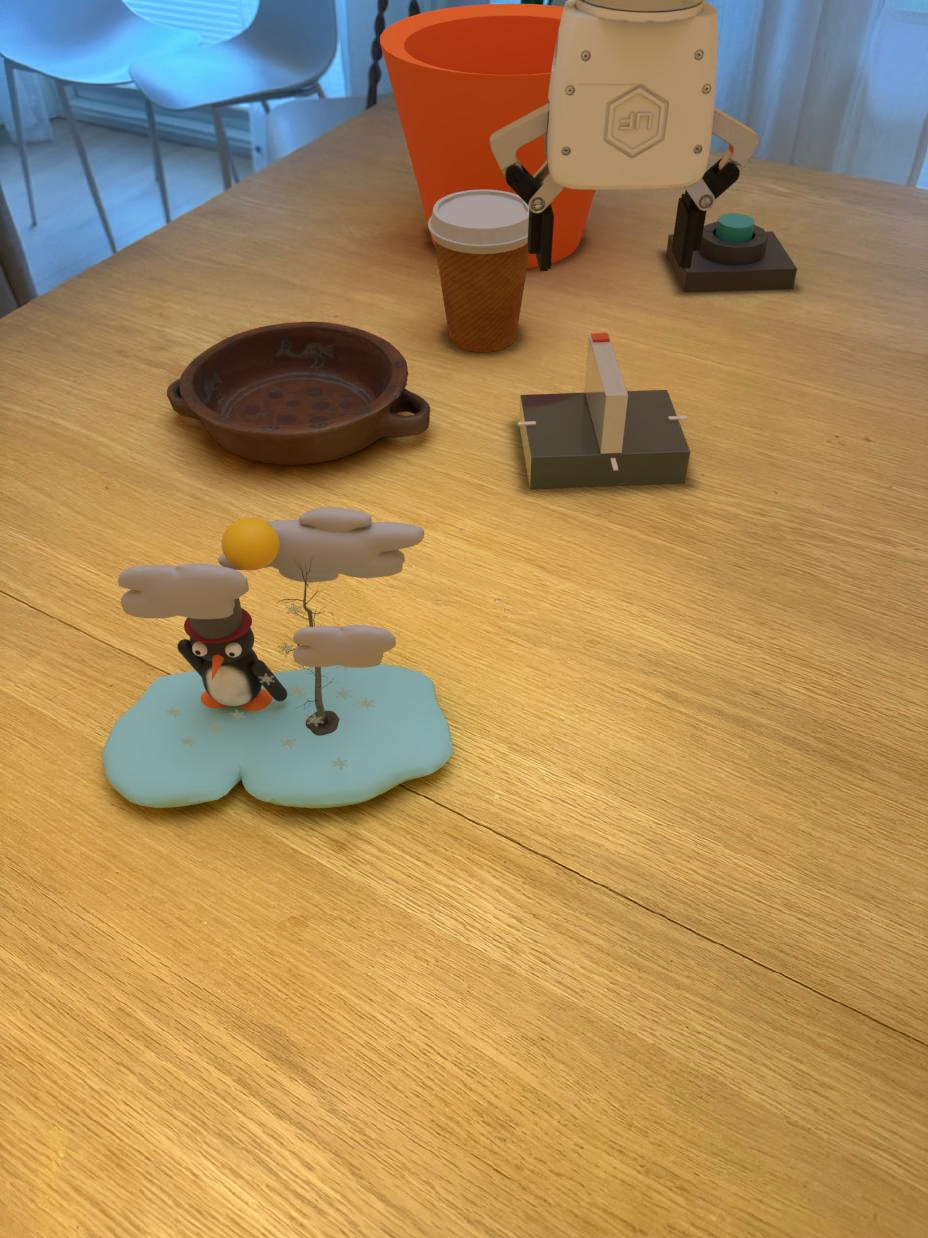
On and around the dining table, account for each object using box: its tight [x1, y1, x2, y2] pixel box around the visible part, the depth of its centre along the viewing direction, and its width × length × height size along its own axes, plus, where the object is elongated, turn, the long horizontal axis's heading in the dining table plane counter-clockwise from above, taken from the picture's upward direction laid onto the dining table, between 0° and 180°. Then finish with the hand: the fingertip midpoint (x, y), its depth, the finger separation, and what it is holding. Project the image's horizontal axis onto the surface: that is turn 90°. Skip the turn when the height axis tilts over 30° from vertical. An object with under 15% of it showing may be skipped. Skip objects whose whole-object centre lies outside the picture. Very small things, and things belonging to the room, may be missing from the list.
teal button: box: [715, 212, 756, 242], centre depth 105 cm, size 4×4×2 cm
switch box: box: [665, 221, 798, 293], centre depth 107 cm, size 11×9×4 cm
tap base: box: [517, 389, 691, 490], centre depth 83 cm, size 13×13×3 cm
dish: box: [166, 321, 431, 466], centre depth 86 cm, size 17×22×5 cm
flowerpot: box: [379, 3, 596, 269], centre depth 108 cm, size 25×25×20 cm
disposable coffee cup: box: [427, 190, 529, 353], centre depth 94 cm, size 10×10×12 cm
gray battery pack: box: [583, 332, 628, 454], centre depth 80 cm, size 9×2×5 cm, turn 3°
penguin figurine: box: [101, 506, 454, 809], centre depth 57 cm, size 20×11×15 cm, turn 90°
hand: (611, 261), depth 73 cm, fingers open, 9 cm apart
